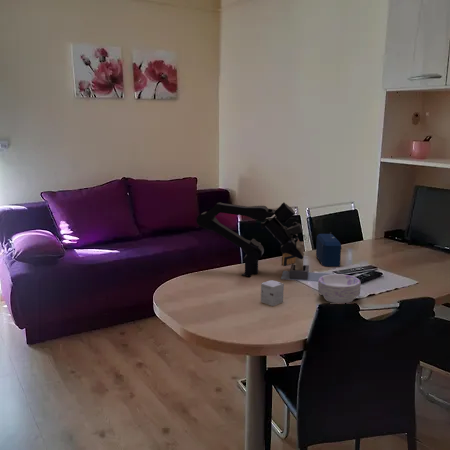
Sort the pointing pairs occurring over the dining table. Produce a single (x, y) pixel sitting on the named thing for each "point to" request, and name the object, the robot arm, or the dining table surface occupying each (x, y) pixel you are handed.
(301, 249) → the slat
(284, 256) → the ammunition clip
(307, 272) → the end cap
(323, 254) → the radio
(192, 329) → the dining table surface
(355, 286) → the paper bowls
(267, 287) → the skincare box
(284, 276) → the base board
